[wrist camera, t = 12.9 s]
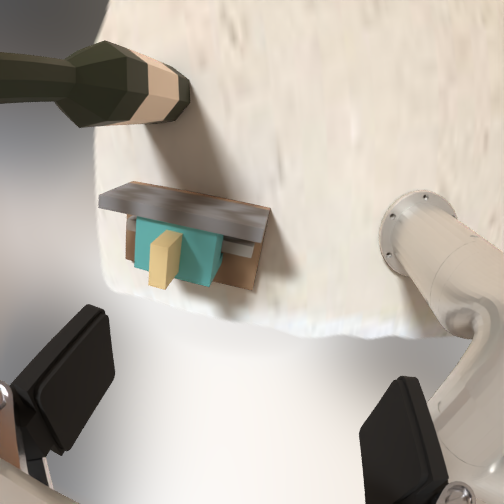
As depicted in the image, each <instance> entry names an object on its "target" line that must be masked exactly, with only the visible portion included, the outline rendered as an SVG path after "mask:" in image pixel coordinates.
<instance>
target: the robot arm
mask: <svg viewBox="0 0 504 504" xmlns="http://www.w3.org/2000/svg"><path fill="white" fill-rule="evenodd" d="M424 195H425V197H424V198H423V196H424ZM391 214H393V215H392V216H390V215H391ZM379 245H380V249H381V253H382V255H383V257H384V259H385V261H386V262H387V263H388V265H389V266H390V267H391V268H392V269H393V270H394V271H396V272H397V273H399V274H401V275H404V276H407V277H410V278H411V279H412V281H413V282H414V284H415V285H416V287H417V288H418V290H419V291H420V293H421V294H422V296H423V297H424V299H425V300H426V302H427V304H428V305H429V307H430V308H431V310H432V311H433V313H434V315H435V316H436V318H437V319H438V321H439V322H440V324H441V325H442V326H443V327H444V328H445V329H446V330H447V331H448V332H449V333H451V334H453V335H455V336H457V337H460V338H465V339H472V342H471V343H470V345H469V347H468V348H467V350H466V352H465V353H464V355H463V356H462V357H461V359H460V361H459V362H458V364H457V365H456V367H455V368H454V369H453V371H452V372H451V373H450V375H449V376H448V377H447V378H446V380H445V381H444V382H443V384H442V385H441V386H440V387H439V389H438V390H437V391H436V392H435V394H434V395H433V396H432V397H431V399H430V400H429V401H428V402H427V403H426V400H425V397H424V395H423V392H422V389H421V386H420V383H419V381H418V379H417V378H416V377H407V376H400V377H399V378H398V379H397V380H394V381H393V382H392V383H391V385H390V386H389V388H388V389H387V391H386V392H385V394H384V395H383V397H382V398H381V400H380V401H379V403H378V404H377V406H376V407H375V409H374V410H373V411H372V413H371V414H370V416H369V417H368V418H367V420H366V421H365V422H364V424H363V425H362V427H361V429H360V432H359V439H360V447H361V457H362V466H363V477H364V489H365V502H366V504H476V498H477V499H479V500H481V501H483V502H485V503H487V504H504V253H503V252H502V251H501V250H499V249H498V248H497V247H495V246H494V245H493V244H491V243H490V242H488V241H487V240H486V239H484V238H483V237H481V236H480V235H479V234H477V233H476V232H474V231H473V230H472V229H470V228H469V227H467V226H466V225H464V224H463V223H461V222H460V221H459V220H458V219H457V216H456V213H455V211H454V209H453V207H452V206H451V204H450V203H449V202H448V201H447V200H446V199H445V198H443V197H442V196H440V195H438V194H436V193H434V192H430V191H426V190H418V191H413V192H410V193H407V194H405V195H403V196H402V197H400V198H399V199H397V200H396V201H395V202H394V203H393V204H392V205H391V206H390V207H389V209H388V210H387V212H386V213H385V215H384V218H383V220H382V222H381V226H380V230H379ZM387 253H389V254H387ZM114 376H115V369H114V360H113V353H112V344H111V336H110V325H109V318H108V316H107V315H105V311H104V310H103V309H101V308H98V307H95V306H93V305H90V304H88V305H86V306H84V307H83V308H82V309H81V311H80V312H78V314H76V315H75V316H74V317H73V318H72V319H71V320H70V321H69V322H68V323H67V325H66V326H64V328H63V329H62V330H61V331H60V332H59V333H58V334H57V335H56V336H55V337H54V338H53V339H52V340H51V341H50V342H49V343H48V344H47V345H46V346H45V347H44V348H43V349H42V350H41V352H39V353H38V355H37V356H36V357H35V358H34V359H33V360H32V361H31V362H30V363H29V364H28V366H27V367H26V368H25V369H24V370H23V371H22V372H21V373H20V374H19V376H18V377H17V378H16V379H15V380H14V381H13V382H12V383H11V385H10V386H9V385H8V384H6V383H5V382H4V381H1V380H0V504H79V503H77V502H75V501H73V500H71V499H69V498H68V497H66V496H64V495H62V494H60V493H58V492H57V491H55V490H54V488H53V484H52V481H51V477H50V472H49V468H48V464H47V460H46V456H47V454H48V452H49V451H50V450H52V451H53V452H55V453H57V454H59V455H60V456H62V455H63V453H64V451H69V450H70V449H71V448H72V446H73V444H74V443H75V441H76V439H77V438H78V436H79V434H80V433H81V431H82V429H83V428H84V426H85V425H86V423H87V421H88V419H89V418H90V416H91V415H92V413H93V411H94V410H95V408H96V407H97V405H98V404H99V402H100V400H101V399H102V397H103V396H104V394H105V392H106V391H107V389H108V388H109V386H110V385H111V383H112V381H113V379H114Z"/></svg>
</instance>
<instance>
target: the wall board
mask: <svg viewBox="0 0 504 504" xmlns="http://www.w3.org/2000/svg"><path fill="white" fill-rule="evenodd" d="M98 208H102V209H106V210H111V211H116V212H121V213H125V214H127V224H126V259H128V260H131V261H135V236H136V219H137V216H139V217H144V218H149V219H153V220H158V221H163V222H167V223H172V224H176V225H181V226H186V227H190V228H195V229H199V230H204V231H208V232H213V233H217V234H222V235H224V236H223V242H222V248H221V253H223V258H222V263H221V265H220V267H219V269H218V271H217V273H216V275H215V277H214V279H213V281H214V282H218V283H222V284H227V285H231V286H235V287H239V288H244V289H248V290H252V289H253V285H254V280H255V276H256V271H257V267H258V262H259V258H260V253H261V249H262V244H263V239H264V235H265V230H266V225H267V221H268V216H269V212H270V208H268V207H263V206H259V205H254V204H249V203H245V202H240V201H235V200H230V199H226V198H221V197H216V196H211V195H206V194H201V193H195V192H190V191H185V190H180V189H174V188H169V187H163V186H158V185H152V184H147V183H141V182H135V181H132V182H130V183H127V184H125V185H122V186H120V187H117V188H115V189H112V190H110V191H107V192H105V193H103V194H100V195H99V207H98Z"/></svg>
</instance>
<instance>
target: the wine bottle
mask: <svg viewBox="0 0 504 504" xmlns="http://www.w3.org/2000/svg"><path fill="white" fill-rule="evenodd" d="M49 101H50V102H51V101H54V102H55V104H56V105H57V106H58V107H59V109H60V110H61V111H62V112H63V113H64V114H65V115H66V116H67V117H68V118H69V119H70V120H71V121H73V122H74V123H75V124H76V125H77V126H78V127H79V128H83V127H95V126H110V125H129V124H155V123H162V122H169V121H175V120H176V119H177V118H178V117H179V115H180V114H181V113H182V112H183V110H184V109H185V108H186V107H187V106H188V104H189V103H190V90H189V79H187V78H186V77H185V76H183V75H182V74H181V73H180V72H178V71H177V70H176V69H174V68H173V67H171V66H169V65H167V64H164V63H162V62H160V61H157V60H155V59H152V58H150V57H148V56H145V55H143V54H140V53H138V52H135V51H132V50H130V49H127V48H124V47H122V46H119V45H116V44H114V43H111V42H108V41H102V42H99V43H96V44H94V45H91V46H88V47H86V48H83V49H80V50H78V51H76V52H75V53H73V54H72V55H71V56H69V57H67V58H65V59H64V60H62V59H56V58H49V57H42V56H34V55H25V54H15V53H4V52H0V104H4V103H19V102H49Z"/></svg>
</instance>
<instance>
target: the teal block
mask: <svg viewBox="0 0 504 504" xmlns="http://www.w3.org/2000/svg"><path fill="white" fill-rule="evenodd" d="M223 236H224V235H222V234H217V233H213V232H208V231H204V230H199V229H195V228H190V227H186V226H181V225H176V224H172V223H167V222H163V221H158V220H153V219H149V218H144V217H139V216H137V219H136V236H135V263H134V267H135V268H139V269H143V270H146V271H149V285H150V286H153V287H157V288H160V289H164V290H165V289H166V288H167V287H168V285H169V284H170V283H171V281H172V280H173V279H174V278H176V279H180V280H184V281H187V282H191V283H195V284H199V285H203V286H207V287H210V285H211V283H212V281H213V279H214V277H215V275H216V273H217V271H218V269H219V267H220V265H221V263H222V258H223V253H221V248H222V242H223Z"/></svg>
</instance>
